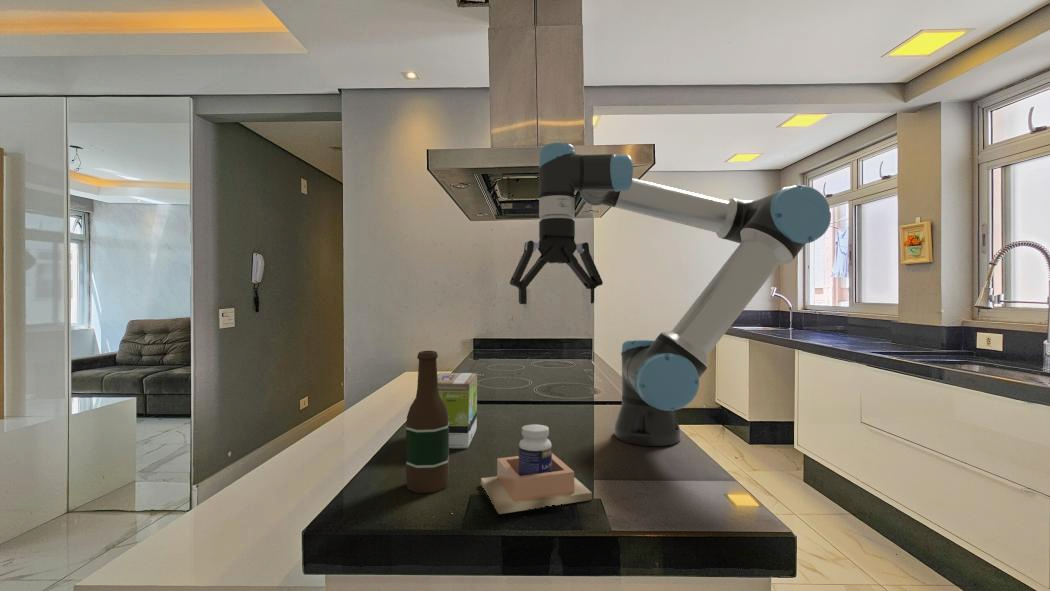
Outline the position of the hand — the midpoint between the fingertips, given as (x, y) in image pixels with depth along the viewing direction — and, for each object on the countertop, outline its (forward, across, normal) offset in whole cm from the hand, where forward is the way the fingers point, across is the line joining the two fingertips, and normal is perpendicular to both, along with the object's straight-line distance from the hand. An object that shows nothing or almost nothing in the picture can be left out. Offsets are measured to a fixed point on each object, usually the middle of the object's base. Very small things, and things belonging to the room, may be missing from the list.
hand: (557, 319), depth 101 cm
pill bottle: (+28, -11, -16) cm, 34 cm away
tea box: (+29, -19, +19) cm, 40 cm away
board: (+29, -11, -16) cm, 35 cm away
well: (+28, -11, -16) cm, 34 cm away
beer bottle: (+29, -28, -7) cm, 41 cm away
